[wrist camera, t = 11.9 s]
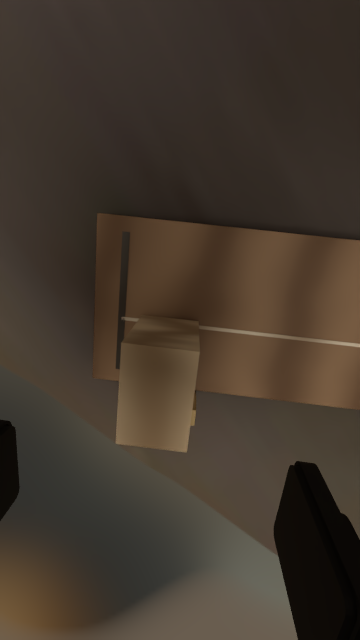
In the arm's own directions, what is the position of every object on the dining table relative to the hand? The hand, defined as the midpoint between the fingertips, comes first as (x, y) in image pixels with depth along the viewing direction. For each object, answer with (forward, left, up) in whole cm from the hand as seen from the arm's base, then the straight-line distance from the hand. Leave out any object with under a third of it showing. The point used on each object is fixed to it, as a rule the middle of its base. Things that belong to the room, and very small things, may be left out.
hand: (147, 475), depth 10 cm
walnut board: (-9, -3, -15) cm, 17 cm away
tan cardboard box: (0, +1, -15) cm, 15 cm away
